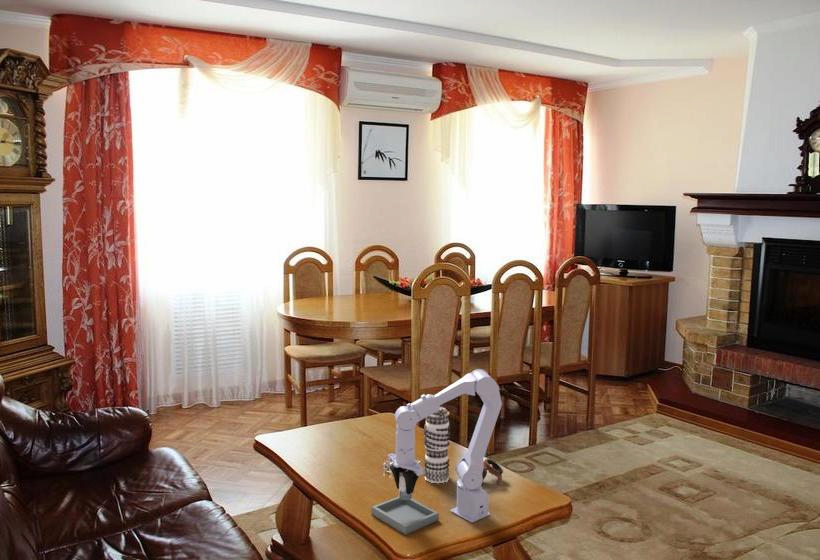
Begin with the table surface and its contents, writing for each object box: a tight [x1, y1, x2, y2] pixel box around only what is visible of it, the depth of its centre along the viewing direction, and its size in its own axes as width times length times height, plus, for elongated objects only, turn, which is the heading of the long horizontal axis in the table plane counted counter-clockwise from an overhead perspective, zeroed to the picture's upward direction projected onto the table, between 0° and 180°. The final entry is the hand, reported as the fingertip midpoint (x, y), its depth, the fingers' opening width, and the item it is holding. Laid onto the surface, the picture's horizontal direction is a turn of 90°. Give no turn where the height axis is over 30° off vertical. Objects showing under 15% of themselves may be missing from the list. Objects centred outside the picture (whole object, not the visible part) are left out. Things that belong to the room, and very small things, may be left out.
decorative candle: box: [423, 405, 452, 484], centre depth 229 cm, size 9×9×25 cm
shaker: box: [398, 469, 413, 500], centre depth 203 cm, size 4×4×8 cm
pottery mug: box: [482, 458, 504, 485], centre depth 228 cm, size 12×10×8 cm
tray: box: [371, 496, 440, 536], centre depth 203 cm, size 16×13×2 cm
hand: (405, 490), depth 203 cm, fingers closed on shaker, 4 cm apart
